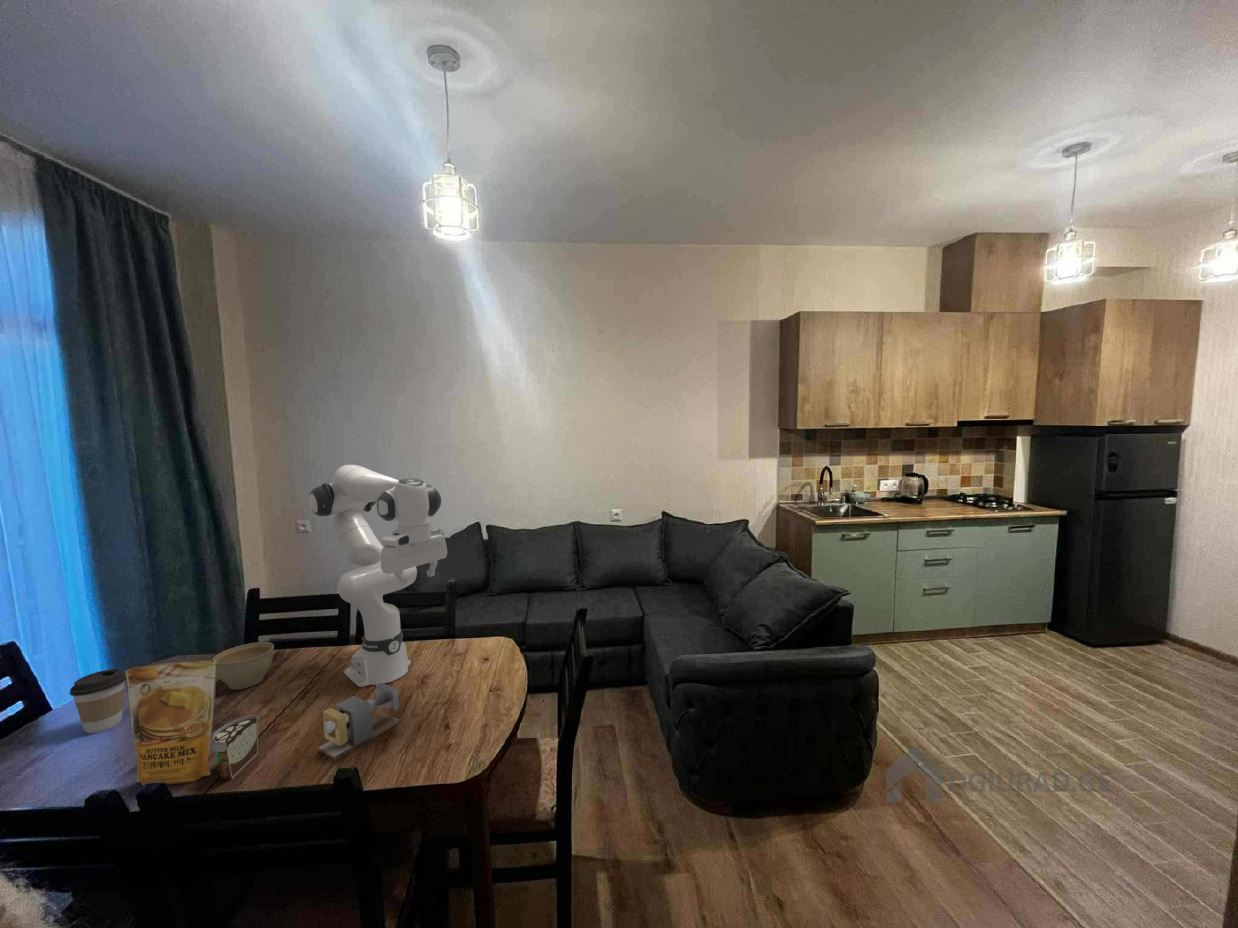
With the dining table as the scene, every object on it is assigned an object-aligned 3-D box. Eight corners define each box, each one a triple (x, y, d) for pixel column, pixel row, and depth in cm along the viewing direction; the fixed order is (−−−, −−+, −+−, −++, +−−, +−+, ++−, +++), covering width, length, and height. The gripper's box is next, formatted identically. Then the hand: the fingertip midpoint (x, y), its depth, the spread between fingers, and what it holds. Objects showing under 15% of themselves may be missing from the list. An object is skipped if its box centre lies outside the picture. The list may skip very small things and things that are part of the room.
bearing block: (338, 739, 129) (335, 704, 128) (356, 729, 133) (353, 695, 132) (354, 748, 125) (352, 712, 124) (373, 738, 129) (370, 703, 128)
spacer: (324, 737, 125) (322, 711, 125) (332, 733, 127) (330, 707, 127) (339, 746, 122) (337, 719, 121) (347, 741, 123) (345, 715, 123)
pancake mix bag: (147, 770, 119) (136, 661, 117) (228, 762, 121) (219, 655, 119) (121, 790, 112) (110, 675, 111) (208, 781, 114) (198, 668, 113)
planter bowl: (275, 684, 159) (272, 653, 159) (212, 701, 150) (209, 668, 150) (277, 666, 173) (274, 637, 172) (219, 680, 164) (216, 650, 163)
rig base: (318, 750, 125) (318, 747, 124) (383, 714, 140) (382, 711, 140) (335, 760, 120) (335, 756, 120) (399, 722, 136) (399, 719, 136)
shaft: (319, 733, 125) (317, 713, 124) (382, 700, 140) (380, 682, 139) (336, 743, 121) (334, 722, 120) (398, 708, 136) (397, 689, 135)
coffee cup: (140, 718, 142) (135, 669, 141) (87, 741, 132) (82, 689, 131) (117, 712, 146) (112, 664, 145) (64, 734, 135) (59, 683, 134)
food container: (237, 751, 125) (233, 715, 125) (261, 749, 126) (258, 713, 125) (199, 785, 113) (196, 745, 112) (227, 783, 113) (223, 743, 113)
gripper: (436, 526, 150) (439, 569, 151) (375, 540, 132) (378, 588, 133) (450, 528, 147) (453, 572, 147) (389, 542, 129) (392, 592, 130)
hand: (417, 580), depth 140 cm, fingers open, 8 cm apart
